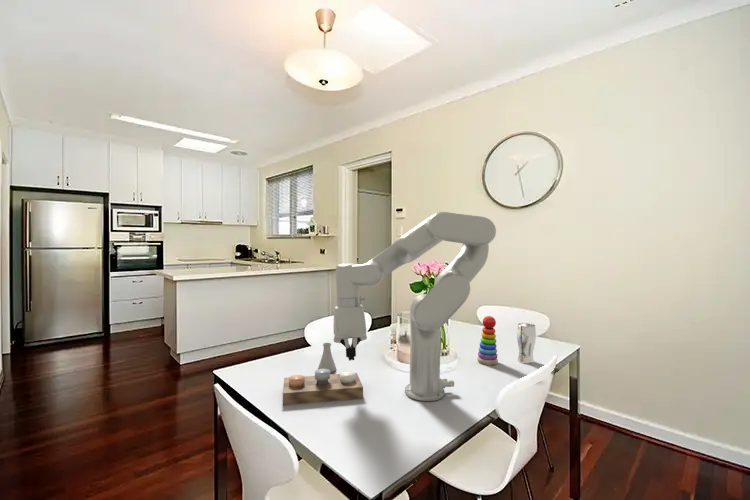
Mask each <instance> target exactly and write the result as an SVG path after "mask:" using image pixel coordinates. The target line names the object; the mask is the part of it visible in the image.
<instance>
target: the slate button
mask: <svg viewBox="0 0 750 500" xmlns="http://www.w3.org/2000/svg"><path fill="white" fill-rule="evenodd" d="M330 375H331V373H330V370H329V369H318V368H317V369H316V370H315V371H314V376H315V379H316V380H317V385H324V384H328V379H330Z"/></svg>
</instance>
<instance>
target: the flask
mask: <svg viewBox="0 0 750 500" xmlns="http://www.w3.org/2000/svg"><path fill="white" fill-rule="evenodd" d="M322 346H323V351H322V355H321V358H320V361H319V364H318V367H317V370H318V369H329V370H330V374H331V373H333V372H336V371H337V366H336V363H335V360H334V357H333V354H332V351H331V346H332V343H331V342H324V343H322Z"/></svg>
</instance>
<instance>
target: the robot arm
mask: <svg viewBox="0 0 750 500" xmlns="http://www.w3.org/2000/svg"><path fill="white" fill-rule="evenodd" d="M496 234H497V228H496V225H495V223H494V222H493V221H492V220H491V219H490V218H487V217H485V216H479V215H478V216H477V215H472V214H465V213H464V214H463V213H462V214H461V213H456V212H448V211H438V212H436V213H434V214H432V215H430V216H429V217H427V218H426V219H425V220H423V221H421V222H420V223H418V224H417V225H416V226H414V227H413V228H412V229H410V230H409V231H408V232H406V233H405V234H403V235H402V236H400V237H399V238H398V239H396V240H395V241H393V243H392V244H391V245H389V246H388V247H386V249H384V250H383V251H381V252H380V253H378V254H377V255H375V256H374V257H373V258H371V259H370V260H368V261H367V262H366V263H363V264H357V263H352V262H351V263H339V264H338V265H337V266H336V268H335V283H336V284H335V285H336V288H335V289H336V306H334V308H333V309H334V312H333V334H334V335H333V342H334V343H337V344H341V345H342V346H344V347H345V358H348V361H349V362H350V361H355V357H357V350H356V348H357V346H358V345H359V344H360V342H363V341H365V340H367V338H368V336H367V327H366V326H367V324H366V316H365V310H364V307H363V304H362V303H366V298H365V297H362V296H361V287H367V288H373V287H376V286H379V285H380V284H381V283H382V281H383V279H384V278H386V277H387V276H388V275H390V274H391V273H392V272H393V271H395V270H396V269H398V268H400V267H402V266H404V265H406V264H410V263H412V262H413V261H415V260H417V259H418V258H420V257H421V256H423V255H425V253H427V252H428V251H429V250H430V251H431V249H432V248H434V247H436V246H437V245H438V244H439V243H442V242H443V241H444V242H449V243H455V244H456V243H458V244H462V246H461V249H460V251H459V252H458V254H456V256H455V257H454V259H453V260H452V261H451V262H450V263H449V264H448V265H447V266H446V267H445V268H444V269H443V270H442V271H441V272H440V273H438V274H437V276H436V277H435V280H434V283H433V287H432V289H430V291H429V292H427V293H421V294H419V295H417V296H415V297H414V299H412V301H411V304H410V307H409V320H410V323H409V325H410V330H409V332H410V336H409V337H410V344H409V345H410V346H409V349H410V350H409V384H407V385H406V386H404V393H405V396H408V397H409V398H410V399H413V400H417V401H420V402H435V401H438V400H441V399H442V398H444V397H445V392H446V390H445V388H454V387H455V381H454V380H453V379H452V380H448V379H447V378H441V377H440V376H441V338H442V337H441V327H442V326H444V325H445V324H446V323H447V322H448V321H449V320H450V319H451V317H453V316H454V314H455V313H456V312H457V311H458V310H459V309H460V308H461V307H462V306H463V304H464V303H465V302H466V301H467V299H468V298H469V297H470V296H469V295H470V293H471V282H472V281H473V280H474V278H476V276H477V275H478V273H480V272H481V270H482V269H483V267H484V266H485V264H486V263H487V260H488V256H489V248H490V247H489V245H490V243H491V242H492V241H494V240H495V238H496ZM349 339H351V344H350V343H349Z"/></svg>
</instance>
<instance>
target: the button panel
mask: <svg viewBox="0 0 750 500" xmlns="http://www.w3.org/2000/svg"><path fill="white" fill-rule="evenodd" d="M354 373H355V381H354V382H352V383H342V382H340V374H341V373H333V374H330V379H328V384H324V385H317V380H316V379H315V375H307V376H305V375H303V376H304V377H305V384H304V385H303V386H301V387H291V386H289V377H284V378H283V384H282V385H283V387H282V406H286V405H287V406H288V405H298V404H299V405H300V404H309V403H310V404H311V403H321V402H323V401H325V402H333V401H345V400H348V401H349V400H357V399H358V400H360V399H363V398H364V386H363V384H362V382H361V379H360V377H359V375H358V373H357V372H354Z"/></svg>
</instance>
